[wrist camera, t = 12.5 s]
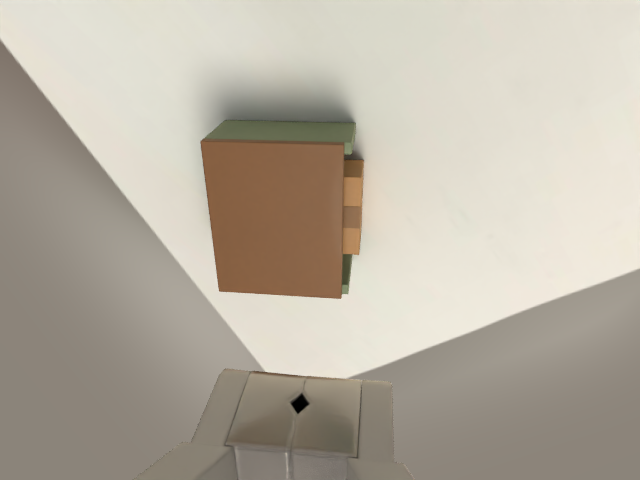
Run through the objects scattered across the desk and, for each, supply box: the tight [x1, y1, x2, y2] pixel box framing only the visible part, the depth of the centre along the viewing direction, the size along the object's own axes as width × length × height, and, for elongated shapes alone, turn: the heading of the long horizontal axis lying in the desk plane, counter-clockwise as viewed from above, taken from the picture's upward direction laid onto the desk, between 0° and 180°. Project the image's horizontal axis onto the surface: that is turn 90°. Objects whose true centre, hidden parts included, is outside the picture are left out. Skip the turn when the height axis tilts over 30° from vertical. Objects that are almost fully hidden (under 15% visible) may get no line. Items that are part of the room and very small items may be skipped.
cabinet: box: [201, 120, 356, 299], centre depth 38 cm, size 10×12×6 cm
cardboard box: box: [343, 160, 364, 255], centre depth 39 cm, size 8×6×4 cm
